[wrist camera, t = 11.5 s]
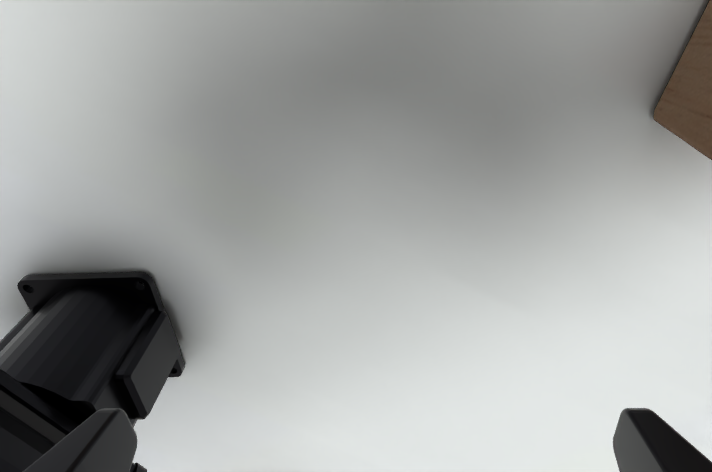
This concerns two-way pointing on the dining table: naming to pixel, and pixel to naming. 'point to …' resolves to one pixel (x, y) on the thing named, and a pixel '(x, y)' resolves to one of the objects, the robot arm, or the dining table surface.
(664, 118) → the wooden block
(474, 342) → the dining table surface
